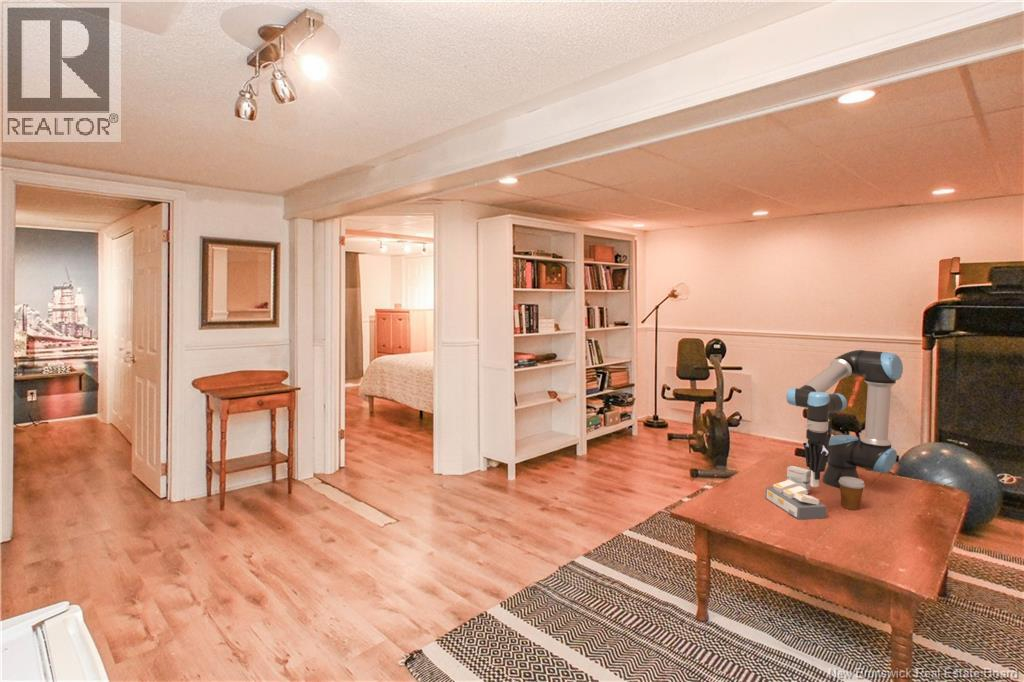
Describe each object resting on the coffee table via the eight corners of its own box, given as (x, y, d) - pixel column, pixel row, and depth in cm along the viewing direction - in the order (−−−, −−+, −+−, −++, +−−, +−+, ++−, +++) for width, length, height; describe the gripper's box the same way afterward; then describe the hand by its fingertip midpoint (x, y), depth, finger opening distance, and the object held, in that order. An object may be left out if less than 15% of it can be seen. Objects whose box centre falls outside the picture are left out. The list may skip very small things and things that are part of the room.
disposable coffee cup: (867, 512, 221) (869, 484, 220) (842, 510, 223) (843, 483, 222) (857, 503, 230) (859, 476, 229) (833, 502, 232) (835, 475, 231)
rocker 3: (810, 500, 221) (811, 495, 221) (818, 504, 217) (819, 499, 217) (793, 497, 220) (795, 492, 220) (800, 501, 215) (802, 496, 215)
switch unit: (790, 497, 237) (791, 485, 237) (825, 518, 216) (826, 504, 215) (764, 498, 236) (765, 486, 235) (797, 519, 214) (798, 506, 214)
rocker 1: (790, 483, 235) (789, 479, 235) (796, 487, 230) (795, 482, 230) (773, 488, 234) (772, 484, 234) (780, 492, 230) (779, 488, 229)
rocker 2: (800, 490, 228) (799, 485, 228) (807, 494, 223) (807, 489, 223) (783, 494, 227) (782, 490, 227) (790, 498, 223) (789, 494, 222)
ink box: (809, 495, 240) (811, 469, 239) (805, 497, 237) (806, 472, 236) (790, 489, 247) (791, 464, 245) (785, 492, 243) (786, 467, 242)
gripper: (797, 426, 222) (795, 480, 224) (820, 435, 209) (817, 492, 211) (814, 425, 223) (811, 479, 225) (837, 434, 210) (834, 491, 212)
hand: (814, 486), depth 218 cm, fingers closed
